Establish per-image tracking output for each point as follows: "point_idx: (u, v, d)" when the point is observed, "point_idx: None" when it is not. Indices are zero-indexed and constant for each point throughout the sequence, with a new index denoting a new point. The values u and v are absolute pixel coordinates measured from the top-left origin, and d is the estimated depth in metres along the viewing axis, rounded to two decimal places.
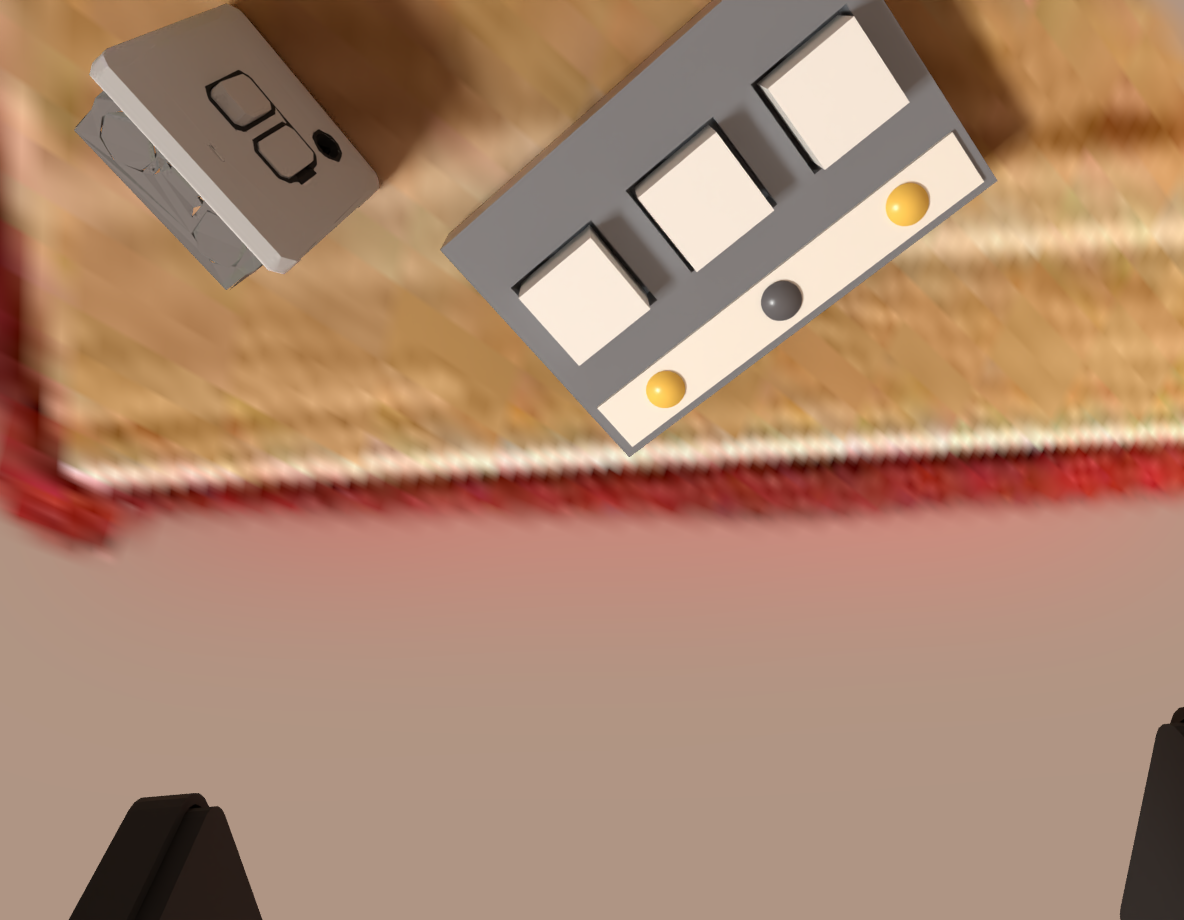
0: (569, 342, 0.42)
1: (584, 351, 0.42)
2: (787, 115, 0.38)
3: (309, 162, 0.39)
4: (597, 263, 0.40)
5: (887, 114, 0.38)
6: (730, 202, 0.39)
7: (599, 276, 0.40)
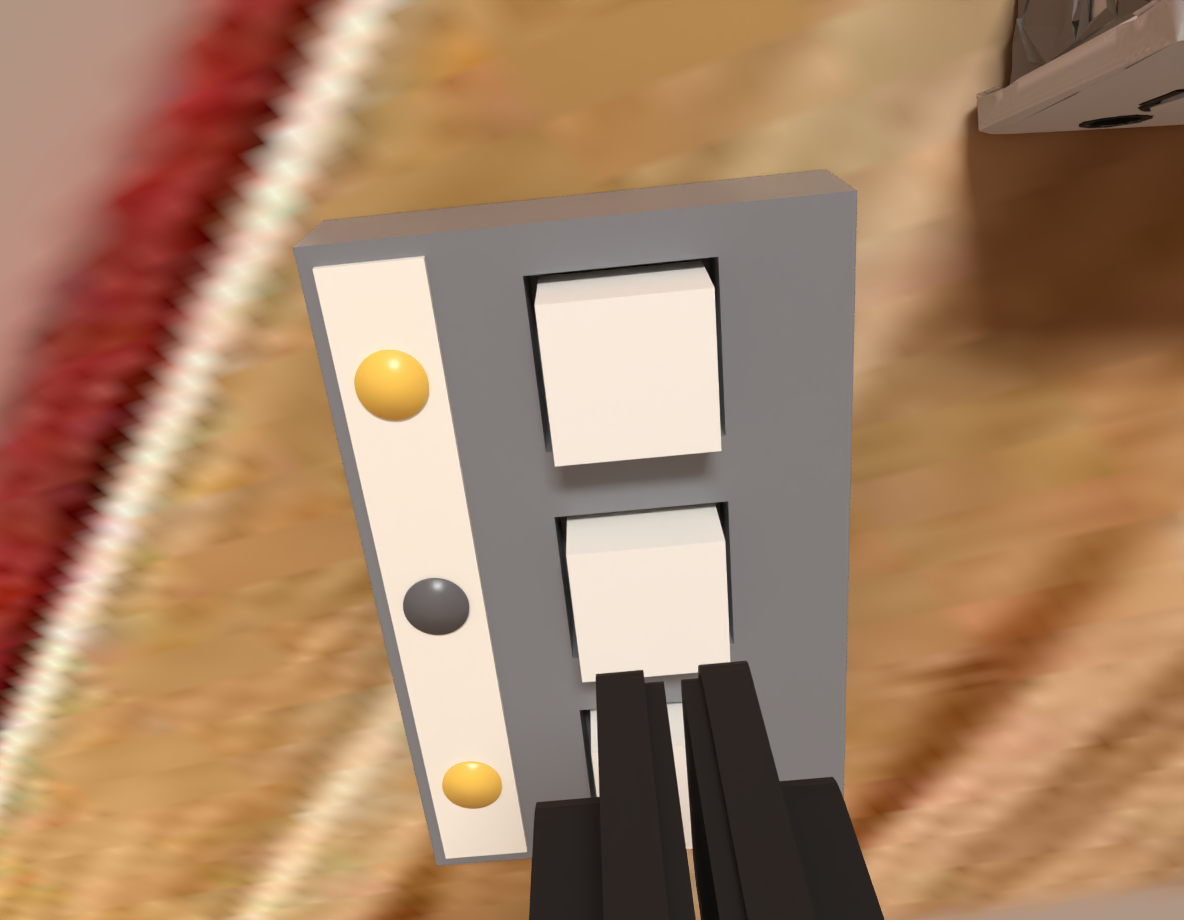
0: (585, 317, 0.21)
1: (553, 330, 0.22)
2: None
3: (1160, 106, 0.20)
4: (677, 437, 0.23)
5: None
6: (631, 641, 0.25)
7: (657, 428, 0.23)
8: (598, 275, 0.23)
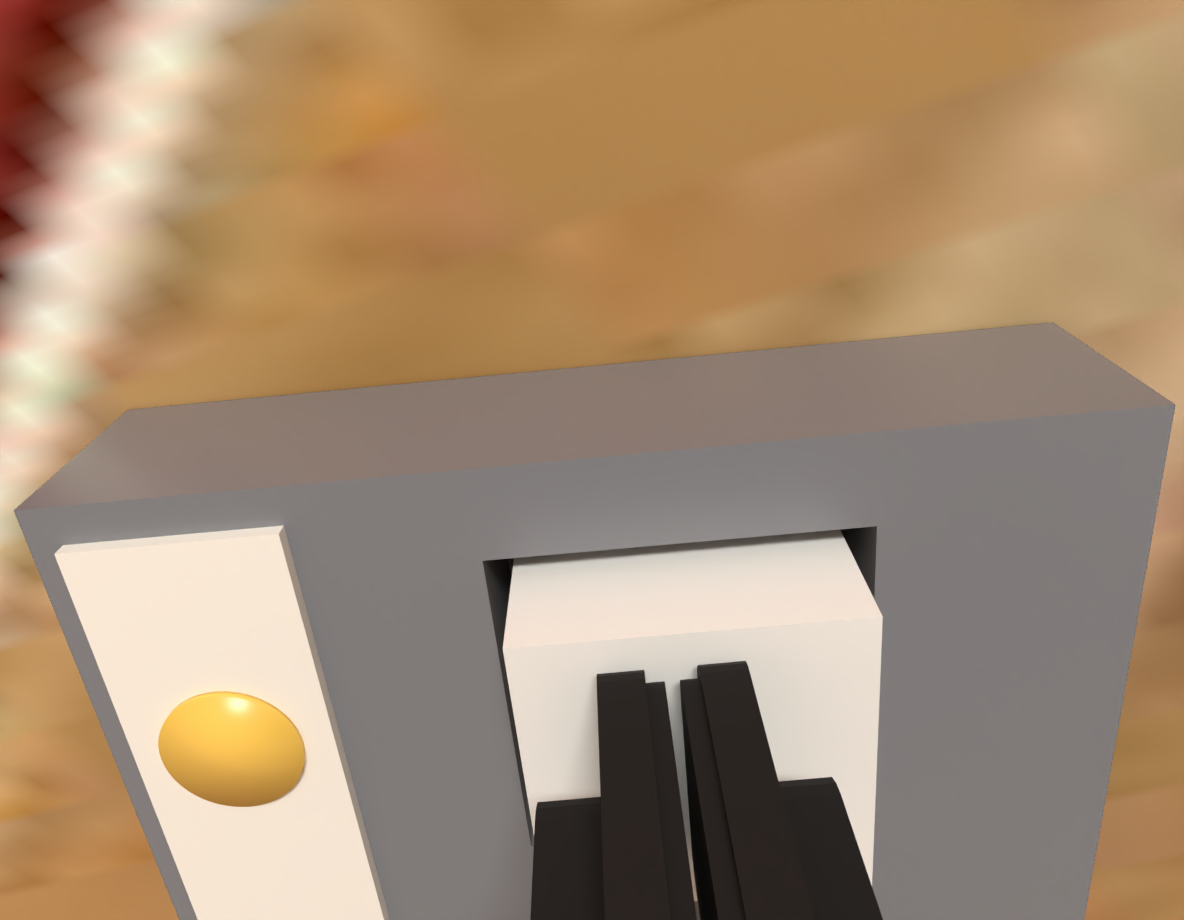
0: (609, 668, 0.10)
1: (543, 691, 0.10)
2: None
3: None
4: None
5: None
6: None
7: None
8: None
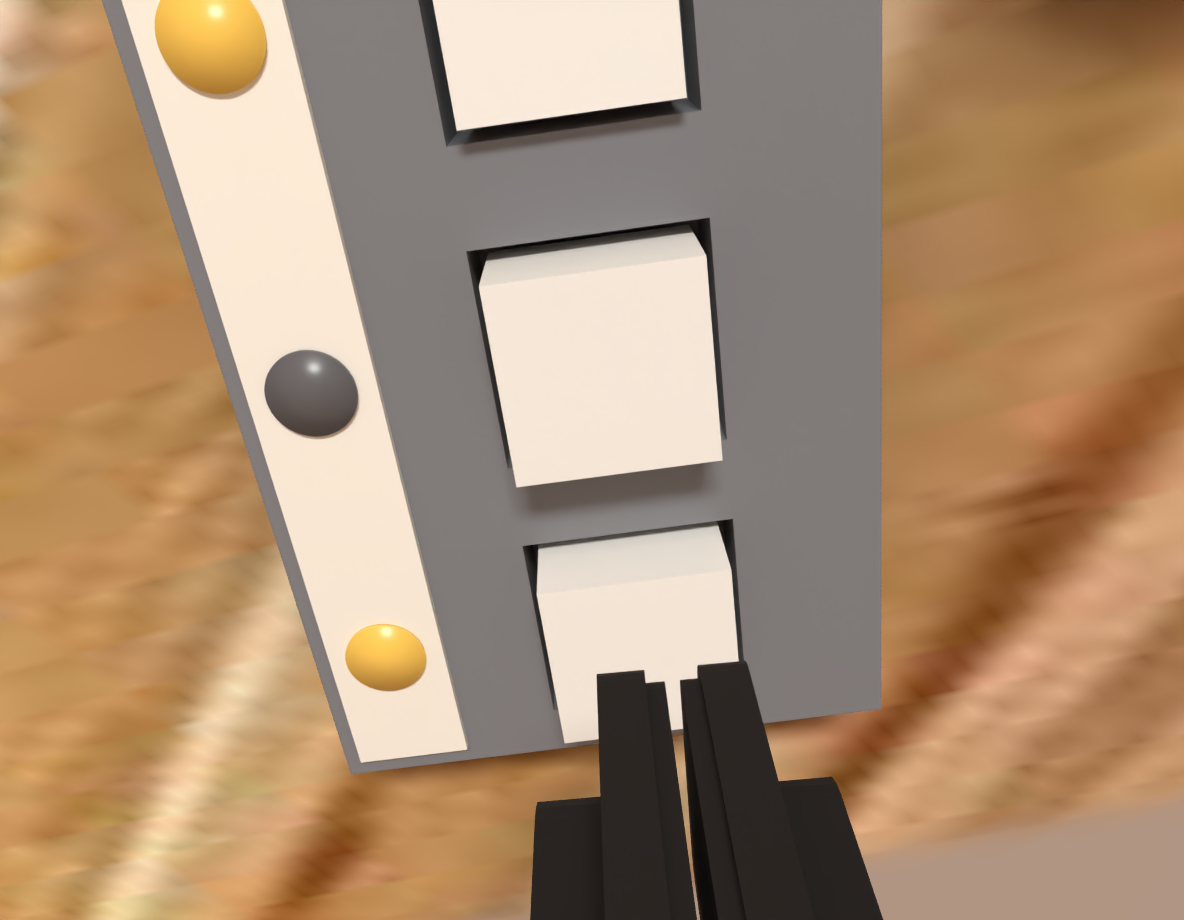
0: None
1: None
2: (667, 578, 0.20)
3: None
4: (625, 77, 0.16)
5: (566, 710, 0.21)
6: (581, 421, 0.18)
7: (594, 64, 0.16)
8: None
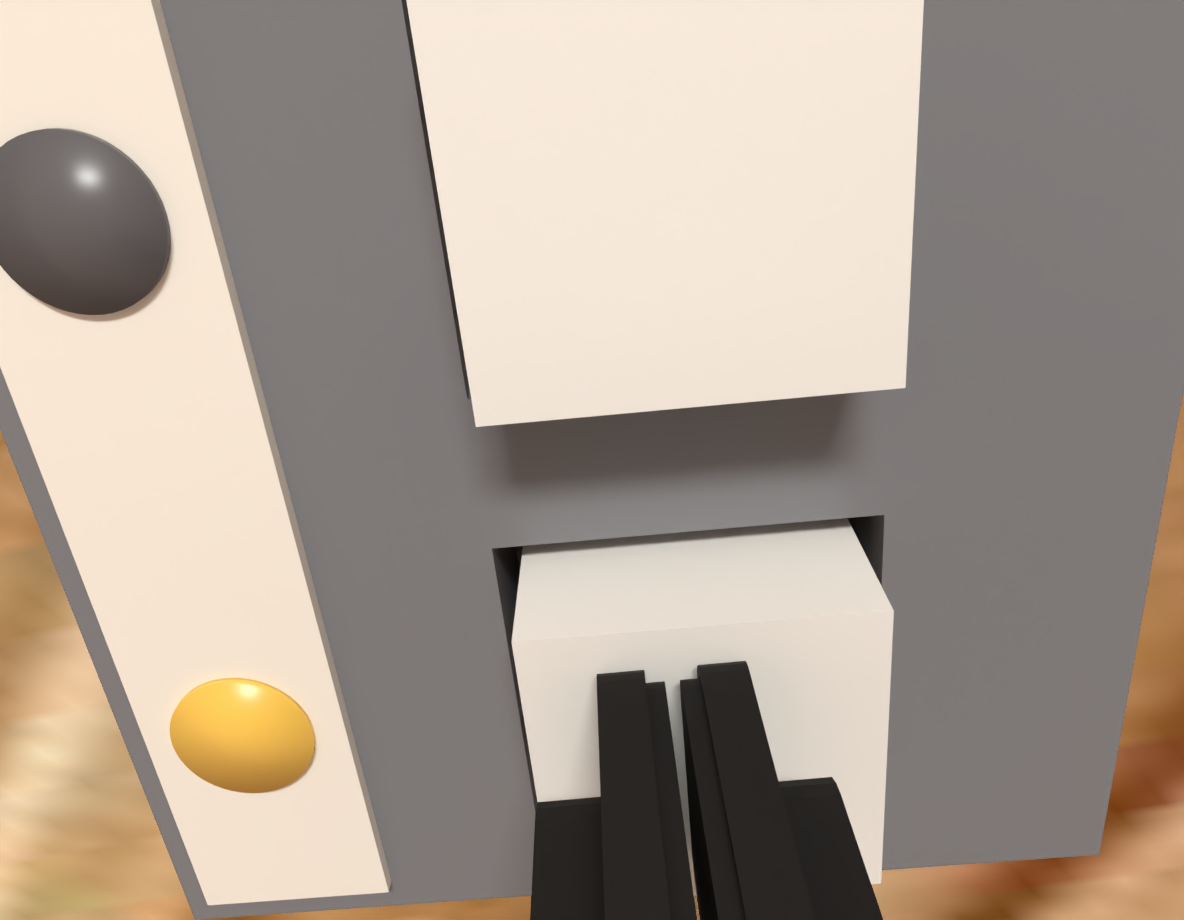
0: None
1: None
2: (766, 621, 0.10)
3: None
4: None
5: None
6: (618, 286, 0.08)
7: None
8: None
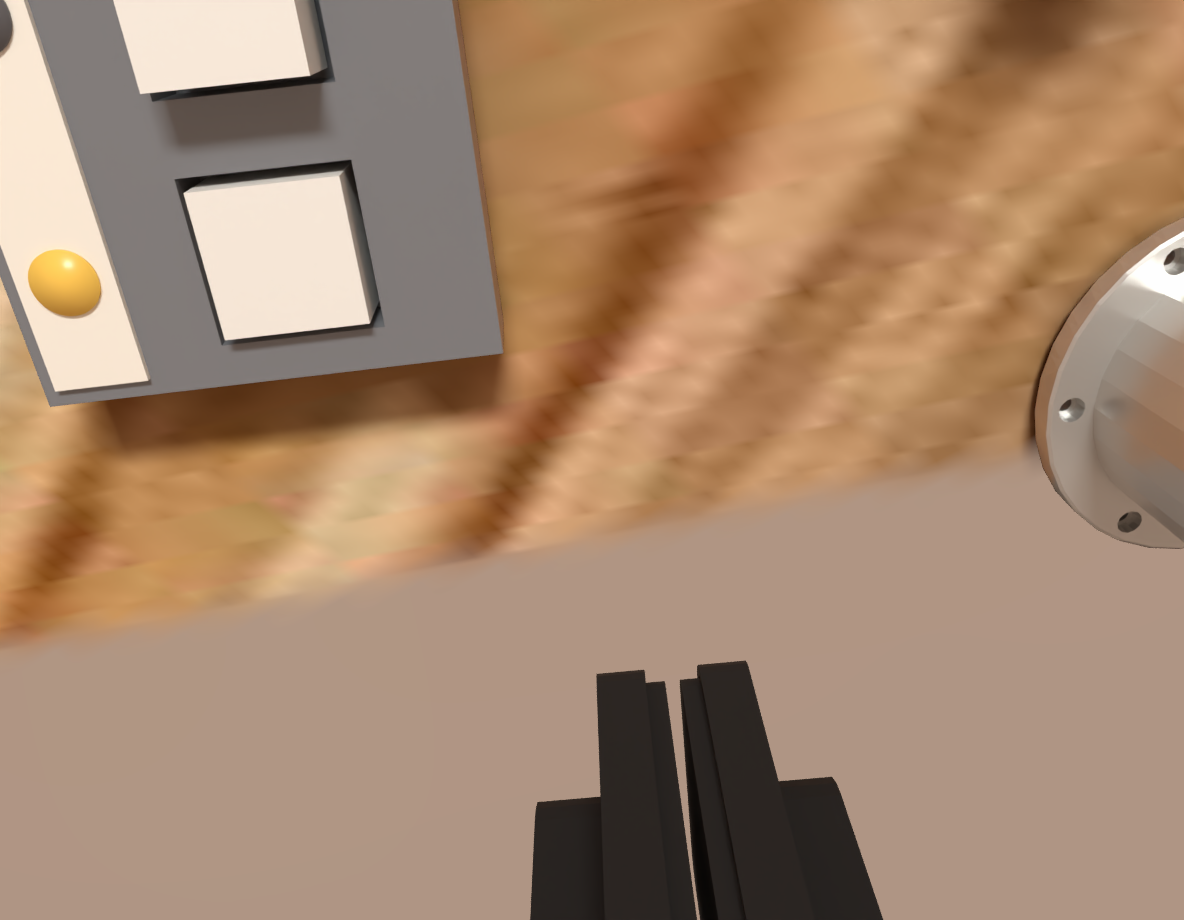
0: None
1: None
2: (288, 182, 0.25)
3: None
4: None
5: (222, 307, 0.26)
6: (187, 32, 0.22)
7: None
8: None
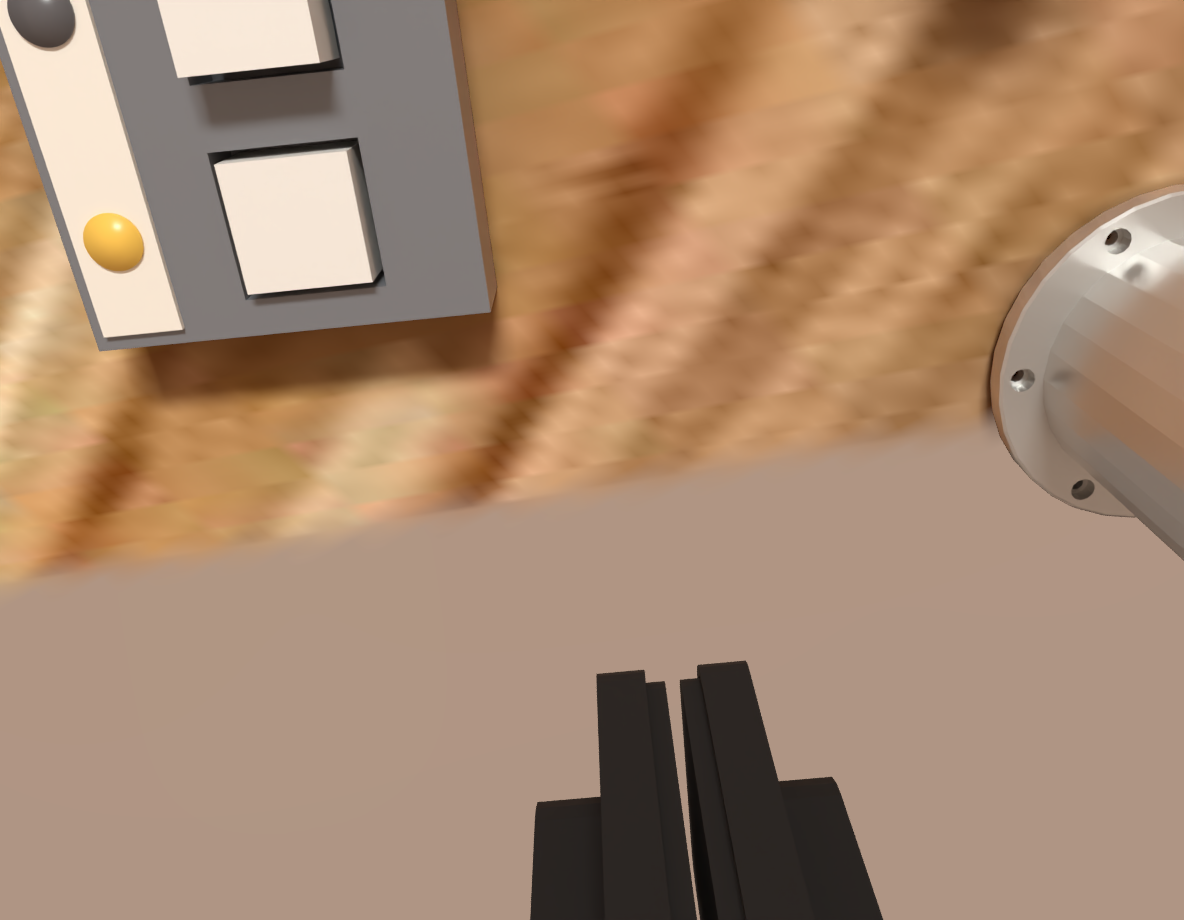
0: None
1: None
2: (303, 156, 0.29)
3: None
4: None
5: (245, 265, 0.30)
6: (217, 25, 0.26)
7: None
8: None
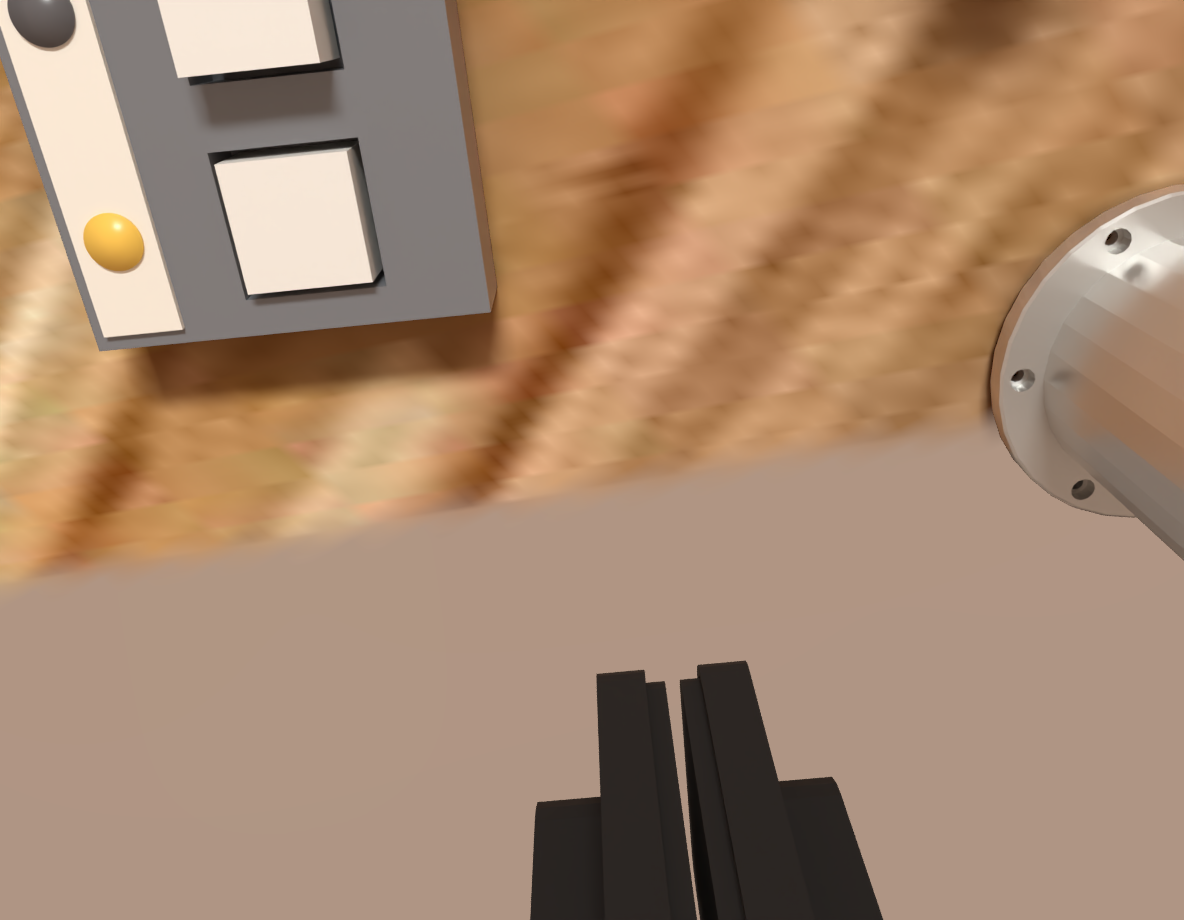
0: None
1: None
2: (303, 156, 0.29)
3: None
4: None
5: (246, 265, 0.30)
6: (217, 25, 0.26)
7: None
8: None
